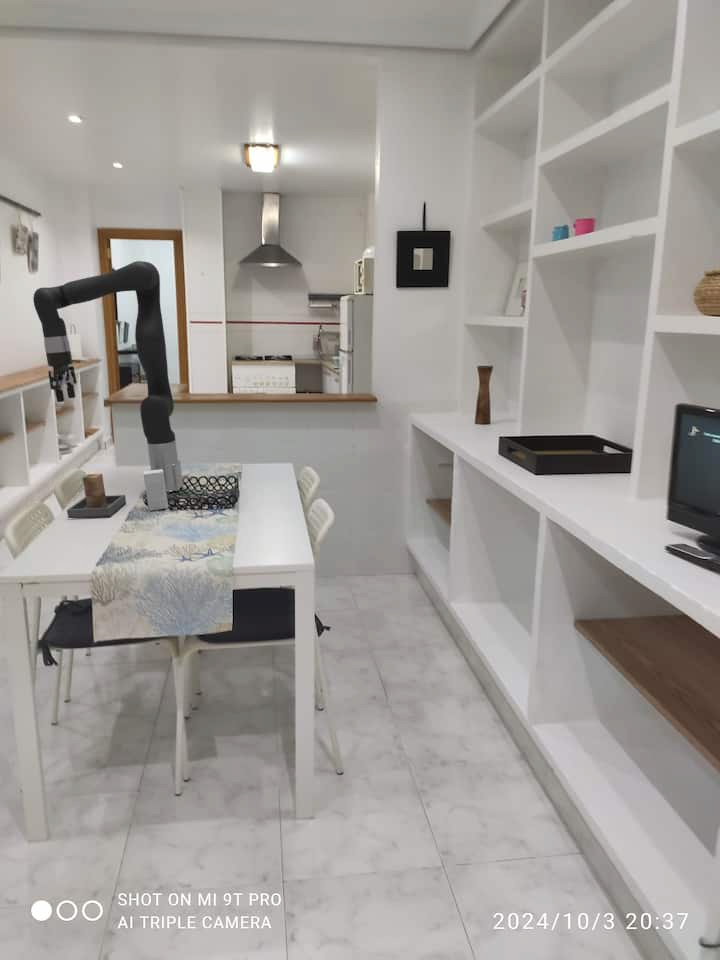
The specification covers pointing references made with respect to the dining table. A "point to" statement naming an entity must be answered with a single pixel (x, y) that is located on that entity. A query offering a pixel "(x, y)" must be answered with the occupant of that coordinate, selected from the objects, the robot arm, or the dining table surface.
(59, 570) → the dining table surface
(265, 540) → the dining table surface
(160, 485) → the skincare box
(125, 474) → the dining table surface
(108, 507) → the tray
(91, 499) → the block
